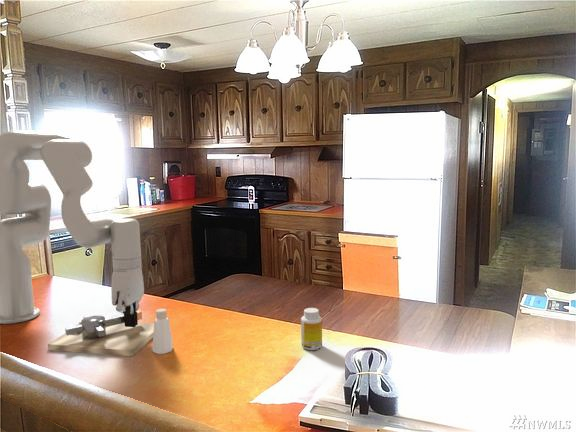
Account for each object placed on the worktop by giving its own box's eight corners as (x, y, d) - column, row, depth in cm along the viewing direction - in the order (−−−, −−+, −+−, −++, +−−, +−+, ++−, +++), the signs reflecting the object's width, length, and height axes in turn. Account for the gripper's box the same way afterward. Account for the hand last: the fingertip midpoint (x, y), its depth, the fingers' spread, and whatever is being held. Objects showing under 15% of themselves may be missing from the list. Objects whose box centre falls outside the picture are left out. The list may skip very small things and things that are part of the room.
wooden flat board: (48, 349, 118) (47, 339, 118) (88, 324, 136) (87, 314, 135) (132, 356, 115) (131, 345, 114) (162, 329, 132) (162, 319, 132)
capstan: (73, 350, 114) (72, 333, 113) (60, 333, 124) (59, 318, 124) (150, 330, 126) (149, 315, 126) (132, 316, 137) (131, 302, 136)
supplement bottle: (326, 348, 119) (325, 311, 118) (307, 352, 116) (307, 314, 115) (315, 341, 124) (315, 305, 123) (298, 345, 121) (297, 308, 120)
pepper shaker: (154, 355, 115) (152, 315, 113) (150, 347, 120) (148, 308, 118) (175, 351, 117) (173, 311, 116) (170, 343, 122) (169, 305, 121)
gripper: (129, 256, 132) (132, 315, 135) (99, 269, 118) (104, 335, 120) (152, 257, 131) (155, 317, 133) (125, 270, 116) (129, 337, 119)
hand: (131, 325), depth 127 cm, fingers closed
